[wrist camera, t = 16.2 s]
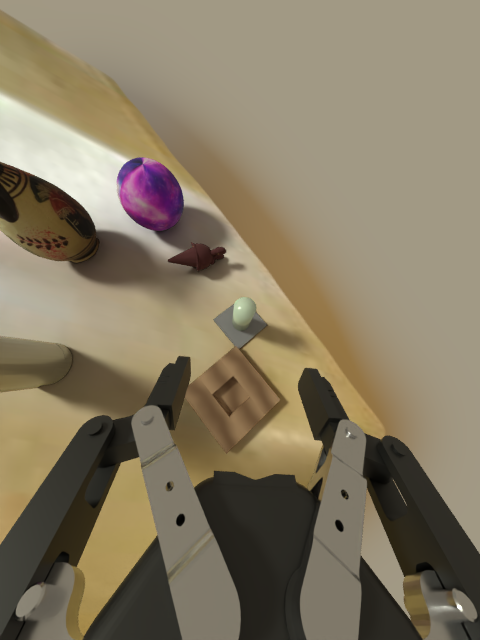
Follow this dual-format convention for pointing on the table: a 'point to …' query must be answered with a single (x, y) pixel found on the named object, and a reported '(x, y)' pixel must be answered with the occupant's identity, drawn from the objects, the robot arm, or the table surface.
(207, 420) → the pocket block
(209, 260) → the icecream
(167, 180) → the decorative orb
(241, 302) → the ball
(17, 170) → the ceramic jug
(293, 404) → the table surface
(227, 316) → the mat
